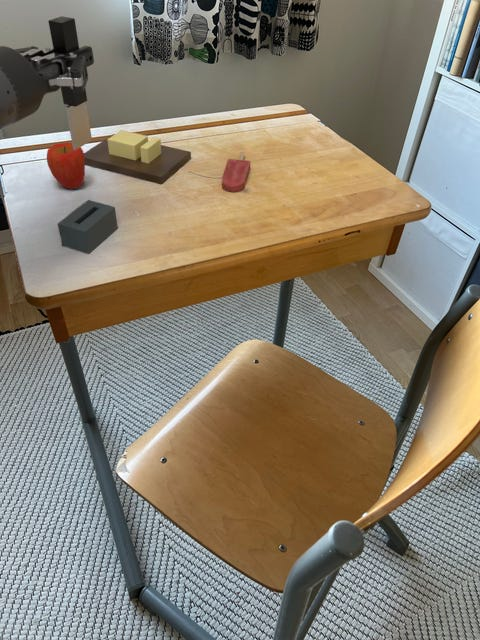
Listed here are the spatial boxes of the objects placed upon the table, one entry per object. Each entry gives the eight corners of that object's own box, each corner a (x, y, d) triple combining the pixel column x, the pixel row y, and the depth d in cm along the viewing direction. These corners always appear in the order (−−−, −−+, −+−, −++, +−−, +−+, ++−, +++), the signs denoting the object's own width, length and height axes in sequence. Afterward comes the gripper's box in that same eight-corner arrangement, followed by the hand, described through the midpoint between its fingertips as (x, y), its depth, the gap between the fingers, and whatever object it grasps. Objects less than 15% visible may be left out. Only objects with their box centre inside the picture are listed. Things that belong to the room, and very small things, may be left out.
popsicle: (253, 149, 103) (243, 185, 93) (253, 157, 105) (243, 194, 94) (231, 147, 104) (219, 183, 93) (231, 155, 105) (219, 191, 94)
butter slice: (141, 162, 98) (139, 146, 96) (154, 151, 101) (153, 137, 99) (148, 163, 98) (147, 148, 95) (161, 153, 101) (160, 138, 99)
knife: (68, 148, 73) (44, 21, 62) (85, 138, 75) (64, 14, 65) (80, 151, 72) (57, 24, 61) (96, 141, 75) (78, 17, 64)
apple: (48, 192, 91) (39, 152, 86) (60, 176, 95) (51, 137, 90) (83, 195, 91) (76, 155, 86) (93, 179, 95) (86, 140, 90)
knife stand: (62, 245, 79) (56, 223, 77) (92, 221, 85) (88, 199, 82) (89, 254, 78) (84, 231, 75) (118, 228, 84) (115, 206, 81)
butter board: (80, 163, 100) (78, 156, 99) (114, 140, 108) (113, 133, 107) (161, 184, 95) (161, 177, 94) (191, 158, 103) (190, 151, 102)
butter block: (109, 154, 100) (107, 139, 98) (123, 144, 103) (121, 129, 101) (135, 160, 98) (134, 145, 96) (149, 150, 102) (147, 135, 100)
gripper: (30, 67, 52) (123, 29, 64) (-74, 45, 55) (33, 13, 67) (46, 139, 57) (130, 91, 69) (-50, 115, 61) (45, 73, 72)
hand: (81, 52), depth 68 cm, fingers closed on knife, 2 cm apart
